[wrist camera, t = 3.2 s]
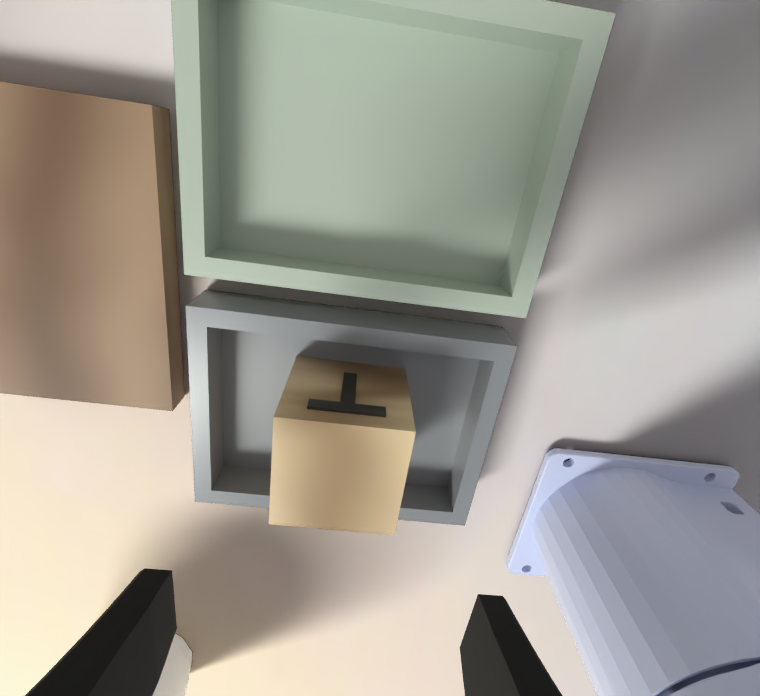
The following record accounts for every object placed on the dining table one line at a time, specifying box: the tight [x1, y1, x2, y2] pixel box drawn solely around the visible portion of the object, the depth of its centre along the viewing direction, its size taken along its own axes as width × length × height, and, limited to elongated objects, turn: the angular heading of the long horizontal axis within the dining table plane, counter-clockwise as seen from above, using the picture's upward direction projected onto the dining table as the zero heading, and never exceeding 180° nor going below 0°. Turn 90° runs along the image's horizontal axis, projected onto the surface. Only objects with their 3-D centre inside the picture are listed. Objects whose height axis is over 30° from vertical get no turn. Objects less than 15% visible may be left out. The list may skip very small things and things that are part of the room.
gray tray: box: [186, 290, 518, 526], centre depth 18 cm, size 12×9×2 cm
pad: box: [0, 81, 184, 411], centre depth 15 cm, size 7×11×1 cm, turn 172°
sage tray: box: [171, 0, 616, 318], centre depth 14 cm, size 12×9×2 cm
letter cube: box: [269, 356, 416, 535], centre depth 16 cm, size 4×5×4 cm
